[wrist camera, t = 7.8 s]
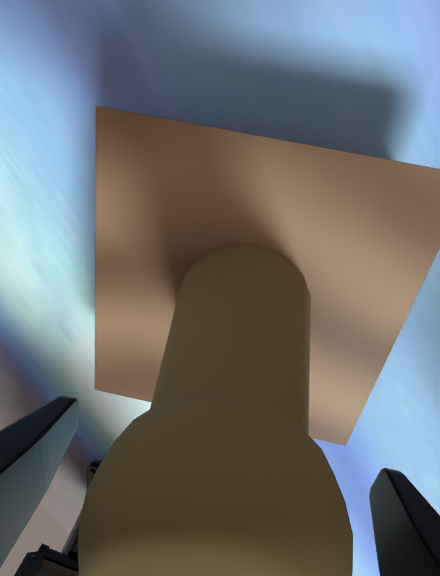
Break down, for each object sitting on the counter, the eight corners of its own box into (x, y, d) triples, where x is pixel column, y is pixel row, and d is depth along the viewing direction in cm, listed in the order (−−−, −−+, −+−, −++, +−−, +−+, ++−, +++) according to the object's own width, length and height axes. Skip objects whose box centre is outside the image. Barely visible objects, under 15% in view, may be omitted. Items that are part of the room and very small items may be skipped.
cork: (153, 308, 16) (-43, 608, 6) (237, 213, 13) (152, 444, 3) (247, 381, 17) (221, 738, 7) (340, 305, 14) (509, 684, 4)
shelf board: (340, 427, 19) (345, 445, 18) (104, 375, 19) (94, 389, 18) (456, 172, 13) (474, 175, 12) (109, 108, 13) (95, 105, 12)
